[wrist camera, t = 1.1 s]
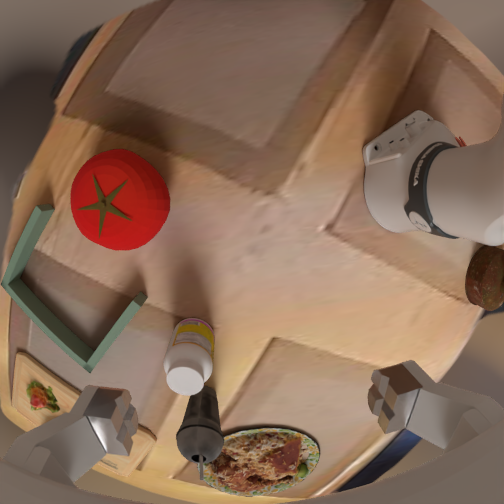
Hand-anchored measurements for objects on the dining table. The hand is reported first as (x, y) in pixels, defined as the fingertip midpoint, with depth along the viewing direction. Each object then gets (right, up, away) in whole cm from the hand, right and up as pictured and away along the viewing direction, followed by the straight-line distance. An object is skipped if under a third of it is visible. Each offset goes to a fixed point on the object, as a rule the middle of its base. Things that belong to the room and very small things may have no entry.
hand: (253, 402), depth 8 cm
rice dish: (+1, -43, +45) cm, 62 cm away
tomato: (-18, +13, +32) cm, 39 cm away
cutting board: (-40, -34, +40) cm, 66 cm away
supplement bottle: (-9, -8, +37) cm, 39 cm away
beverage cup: (-9, -21, +39) cm, 45 cm away
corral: (-30, -1, +33) cm, 45 cm away
